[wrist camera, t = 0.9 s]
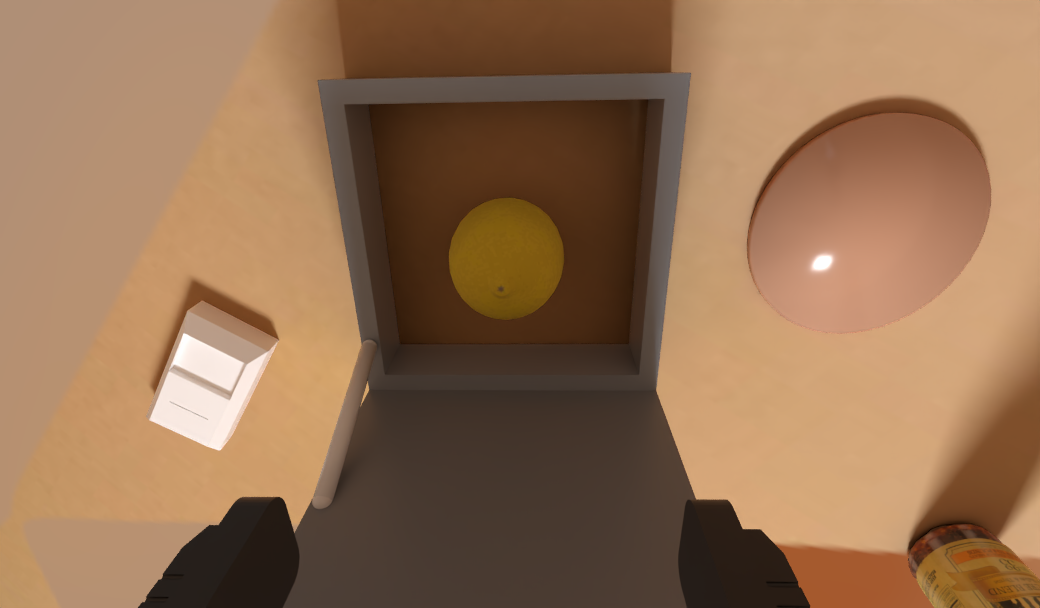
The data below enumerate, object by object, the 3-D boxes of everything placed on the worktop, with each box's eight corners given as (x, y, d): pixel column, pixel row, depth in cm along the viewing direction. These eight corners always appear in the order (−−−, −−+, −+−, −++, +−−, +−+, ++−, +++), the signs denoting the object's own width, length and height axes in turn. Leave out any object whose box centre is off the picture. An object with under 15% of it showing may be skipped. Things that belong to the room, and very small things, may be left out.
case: (344, 78, 25) (-97, 102, 8) (671, 72, 25) (1003, 82, 7) (387, 368, 32) (207, 730, 15) (642, 369, 32) (774, 746, 14)
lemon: (521, 162, 27) (515, 196, 20) (579, 244, 29) (594, 304, 21) (440, 221, 28) (407, 274, 21) (500, 296, 30) (488, 369, 23)
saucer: (768, 114, 26) (773, 115, 25) (1018, 110, 25) (1029, 111, 25) (731, 329, 31) (735, 333, 30) (939, 328, 30) (946, 333, 30)
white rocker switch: (164, 400, 35) (136, 425, 32) (205, 297, 31) (178, 317, 29) (234, 432, 36) (212, 459, 33) (281, 337, 32) (261, 358, 30)
